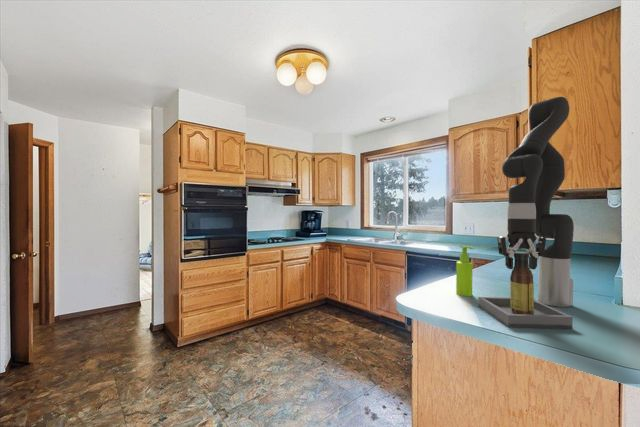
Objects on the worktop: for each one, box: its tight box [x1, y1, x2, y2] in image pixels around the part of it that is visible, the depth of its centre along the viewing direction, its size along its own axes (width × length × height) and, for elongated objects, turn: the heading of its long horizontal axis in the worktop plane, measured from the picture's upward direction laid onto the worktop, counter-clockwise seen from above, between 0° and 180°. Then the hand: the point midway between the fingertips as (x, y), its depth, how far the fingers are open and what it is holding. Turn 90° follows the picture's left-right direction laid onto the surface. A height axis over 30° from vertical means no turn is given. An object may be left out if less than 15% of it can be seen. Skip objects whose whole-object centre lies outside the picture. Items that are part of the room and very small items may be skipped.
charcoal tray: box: [477, 296, 573, 330], centre depth 92 cm, size 18×18×4 cm
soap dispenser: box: [455, 245, 476, 297], centre depth 117 cm, size 6×7×20 cm
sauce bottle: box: [509, 251, 535, 314], centre depth 92 cm, size 6×6×20 cm
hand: (520, 268), depth 92 cm, fingers open, 6 cm apart
